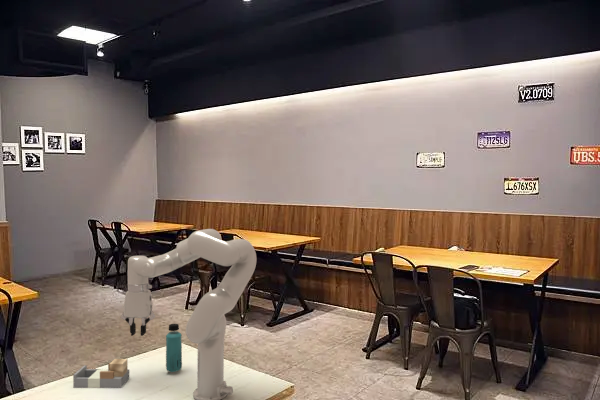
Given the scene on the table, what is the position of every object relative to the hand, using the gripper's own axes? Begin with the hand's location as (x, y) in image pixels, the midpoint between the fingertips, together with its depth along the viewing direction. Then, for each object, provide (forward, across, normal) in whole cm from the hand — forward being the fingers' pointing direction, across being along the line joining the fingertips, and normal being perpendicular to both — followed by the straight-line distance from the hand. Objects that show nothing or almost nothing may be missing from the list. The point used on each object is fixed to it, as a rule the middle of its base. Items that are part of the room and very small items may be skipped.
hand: (138, 334), depth 181 cm
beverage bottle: (+19, -11, -11) cm, 25 cm away
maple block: (+16, +8, 0) cm, 17 cm away
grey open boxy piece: (+19, +14, 0) cm, 24 cm away
